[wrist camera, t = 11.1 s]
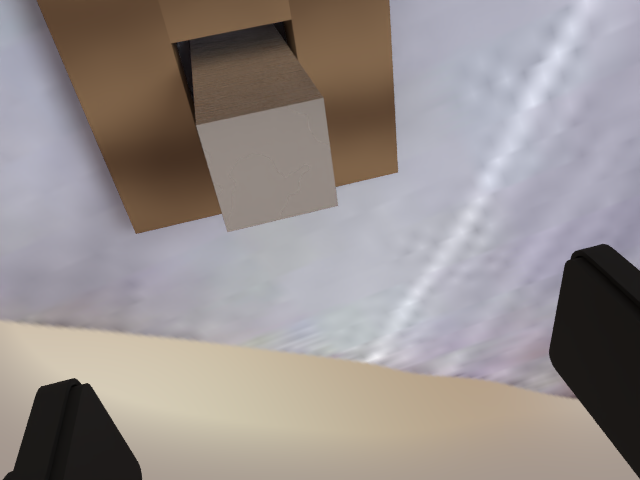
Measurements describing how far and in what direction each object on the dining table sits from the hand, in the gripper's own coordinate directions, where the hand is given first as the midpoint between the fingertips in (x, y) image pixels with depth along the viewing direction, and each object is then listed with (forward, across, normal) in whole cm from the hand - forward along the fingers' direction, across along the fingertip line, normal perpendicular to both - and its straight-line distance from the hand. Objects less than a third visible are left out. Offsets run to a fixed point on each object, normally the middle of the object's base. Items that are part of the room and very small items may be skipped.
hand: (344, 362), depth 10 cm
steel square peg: (+20, 0, 0) cm, 20 cm away
